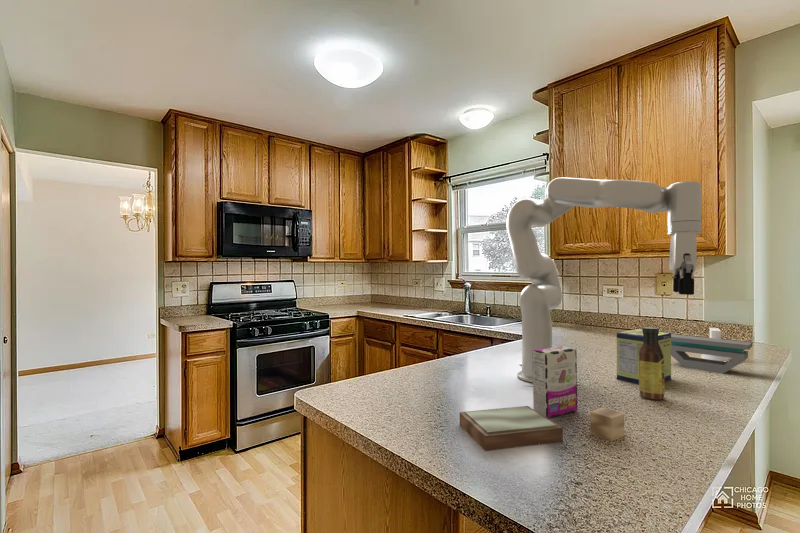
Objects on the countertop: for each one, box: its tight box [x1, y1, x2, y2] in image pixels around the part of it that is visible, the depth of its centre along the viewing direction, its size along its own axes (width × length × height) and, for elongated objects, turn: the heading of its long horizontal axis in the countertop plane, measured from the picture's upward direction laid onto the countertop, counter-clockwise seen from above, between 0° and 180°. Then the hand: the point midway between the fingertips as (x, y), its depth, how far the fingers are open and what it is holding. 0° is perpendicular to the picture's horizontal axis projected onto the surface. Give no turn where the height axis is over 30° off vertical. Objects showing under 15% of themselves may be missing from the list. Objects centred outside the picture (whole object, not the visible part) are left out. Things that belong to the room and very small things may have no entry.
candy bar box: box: [532, 345, 578, 419], centre depth 105 cm, size 11×5×16 cm, turn 117°
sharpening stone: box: [671, 333, 753, 374], centre depth 149 cm, size 25×8×11 cm, turn 42°
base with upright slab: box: [700, 327, 730, 361], centre depth 164 cm, size 9×9×12 cm
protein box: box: [616, 328, 672, 385], centre depth 136 cm, size 10×16×16 cm
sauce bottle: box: [638, 326, 666, 401], centre depth 117 cm, size 6×6×20 cm
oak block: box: [589, 406, 625, 442], centre depth 91 cm, size 5×5×5 cm
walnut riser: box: [459, 405, 564, 452], centre depth 92 cm, size 14×18×3 cm
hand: (683, 293), depth 109 cm, fingers open, 9 cm apart
